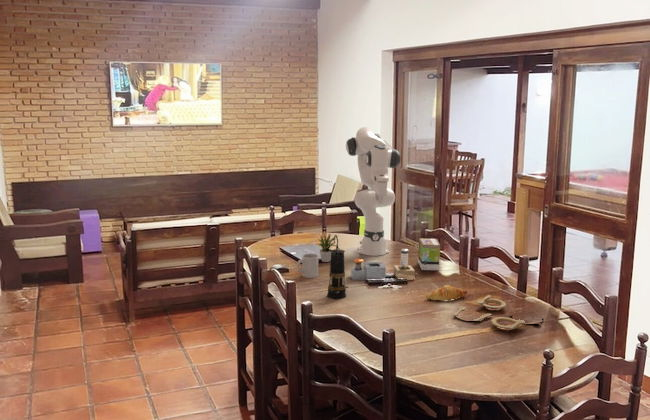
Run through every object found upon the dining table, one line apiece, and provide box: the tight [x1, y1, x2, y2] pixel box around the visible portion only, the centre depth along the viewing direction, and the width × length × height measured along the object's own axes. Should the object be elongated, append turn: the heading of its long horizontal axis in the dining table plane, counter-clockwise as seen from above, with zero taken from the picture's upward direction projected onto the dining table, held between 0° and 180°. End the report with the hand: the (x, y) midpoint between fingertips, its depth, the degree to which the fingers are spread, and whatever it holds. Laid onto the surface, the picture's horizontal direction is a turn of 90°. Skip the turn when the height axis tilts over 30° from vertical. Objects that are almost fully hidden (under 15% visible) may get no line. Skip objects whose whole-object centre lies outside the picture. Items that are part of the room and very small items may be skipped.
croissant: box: [425, 284, 468, 301], centre depth 292 cm, size 21×10×8 cm
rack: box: [393, 264, 416, 281], centre depth 323 cm, size 10×9×5 cm
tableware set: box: [452, 294, 525, 330], centre depth 268 cm, size 35×29×4 cm
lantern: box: [326, 234, 349, 300], centre depth 291 cm, size 9×9×30 cm
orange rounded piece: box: [353, 258, 364, 270], centre depth 321 cm, size 5×5×9 cm
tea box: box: [417, 238, 441, 271], centre depth 342 cm, size 15×10×15 cm, turn 179°
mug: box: [296, 253, 319, 279], centre depth 323 cm, size 12×8×11 cm
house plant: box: [315, 232, 336, 263], centre depth 350 cm, size 14×14×16 cm
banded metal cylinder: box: [400, 248, 410, 270], centre depth 322 cm, size 4×4×14 cm
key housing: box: [350, 266, 366, 281], centre depth 321 cm, size 7×7×5 cm
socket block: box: [362, 261, 387, 281], centre depth 322 cm, size 10×10×7 cm
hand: (379, 202), depth 323 cm, fingers open, 8 cm apart
